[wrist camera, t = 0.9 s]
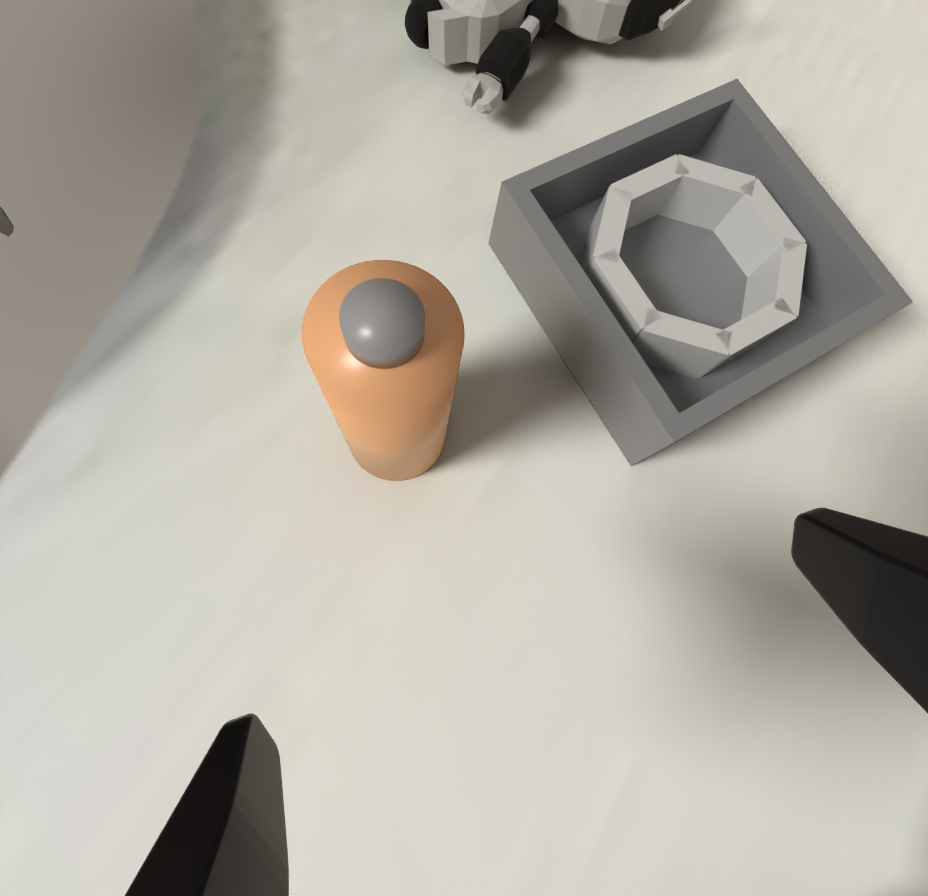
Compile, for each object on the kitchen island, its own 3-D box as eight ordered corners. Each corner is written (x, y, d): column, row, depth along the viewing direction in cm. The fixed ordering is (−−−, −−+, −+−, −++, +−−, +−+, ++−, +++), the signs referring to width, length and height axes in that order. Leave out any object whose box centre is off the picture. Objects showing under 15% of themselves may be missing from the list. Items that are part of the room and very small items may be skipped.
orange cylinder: (462, 452, 23) (498, 349, 13) (376, 498, 22) (344, 427, 12) (415, 372, 24) (416, 216, 14) (331, 414, 23) (265, 282, 13)
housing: (838, 344, 26) (912, 302, 22) (631, 466, 23) (674, 442, 19) (692, 149, 28) (737, 78, 24) (488, 243, 25) (501, 181, 22)
